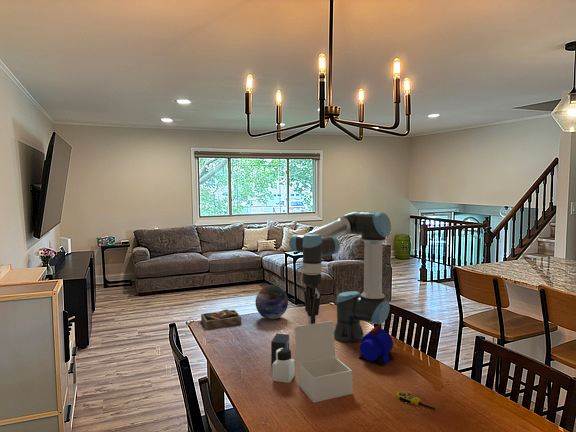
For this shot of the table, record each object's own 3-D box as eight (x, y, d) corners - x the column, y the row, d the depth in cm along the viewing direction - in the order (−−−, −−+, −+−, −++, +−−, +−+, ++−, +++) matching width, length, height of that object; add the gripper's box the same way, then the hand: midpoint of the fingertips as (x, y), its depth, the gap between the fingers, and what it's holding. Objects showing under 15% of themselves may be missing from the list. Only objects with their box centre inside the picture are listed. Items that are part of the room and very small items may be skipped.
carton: (334, 378, 170) (334, 356, 170) (352, 394, 157) (352, 370, 157) (298, 385, 165) (298, 363, 164) (313, 402, 152) (313, 378, 151)
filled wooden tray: (234, 316, 253) (234, 309, 253) (241, 323, 239) (241, 316, 239) (201, 320, 246) (201, 313, 245) (206, 328, 232) (205, 321, 231)
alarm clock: (394, 359, 188) (394, 326, 187) (380, 368, 179) (380, 333, 178) (370, 352, 197) (370, 320, 195) (355, 360, 188) (355, 327, 186)
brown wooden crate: (238, 320, 244) (237, 312, 244) (215, 328, 233) (214, 319, 232) (226, 316, 252) (226, 308, 252) (203, 323, 241) (203, 315, 240)
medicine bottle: (294, 375, 173) (294, 347, 172) (289, 383, 166) (288, 354, 166) (278, 373, 175) (278, 345, 175) (272, 381, 169) (272, 351, 168)
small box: (285, 366, 183) (285, 342, 182) (270, 364, 184) (270, 341, 183) (290, 356, 193) (289, 333, 192) (276, 355, 194) (275, 333, 194)
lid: (335, 356, 170) (334, 356, 171) (333, 321, 170) (332, 320, 171) (297, 363, 164) (296, 362, 164) (295, 326, 164) (294, 326, 165)
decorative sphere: (252, 323, 239) (251, 288, 238) (260, 313, 259) (259, 280, 257) (285, 325, 236) (284, 289, 234) (290, 314, 256) (290, 281, 254)
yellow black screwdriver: (400, 389, 158) (438, 403, 147) (400, 394, 158) (438, 408, 147) (393, 393, 154) (432, 408, 144) (393, 398, 154) (432, 414, 144)
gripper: (297, 270, 173) (296, 327, 174) (309, 276, 161) (309, 337, 162) (313, 269, 175) (313, 325, 177) (327, 275, 163) (327, 335, 165)
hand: (311, 330), depth 170 cm, fingers closed
